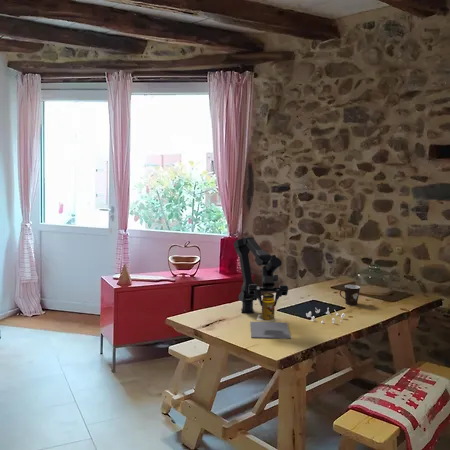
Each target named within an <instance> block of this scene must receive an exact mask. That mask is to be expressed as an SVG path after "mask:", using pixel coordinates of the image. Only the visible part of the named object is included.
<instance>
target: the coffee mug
mask: <svg viewBox="0 0 450 450" xmlns="http://www.w3.org/2000/svg"><path fill="white" fill-rule="evenodd" d="M360 290H361V287H360V286H359V285H356V284H346V285H344V289H340V291H339V295H340V297H341V298H343V299H344V301H345V305H347V306H357V305H358V301H359V296H360ZM342 292H344V296H343V295H342Z"/></svg>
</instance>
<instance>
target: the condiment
mask: <svg viewBox="0 0 450 450" xmlns="http://www.w3.org/2000/svg"><path fill="white" fill-rule="evenodd" d="M275 308H276V306H275V295H274V293H272V292H266V293H263V294H262V306H261V314H257V318H256V321H262V322H276V321H275V320H276V315H275Z"/></svg>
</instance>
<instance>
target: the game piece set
mask: <svg viewBox="0 0 450 450" xmlns="http://www.w3.org/2000/svg"><path fill="white" fill-rule="evenodd" d="M314 308H315V313H316V314H319V313H320V312H321V309H318V308H317V307H314ZM326 309H327V311H326V314H327V315H329V314H331V313H330V312H331V311H329V309H330V308H329V307H327V308H326ZM334 312H335V313H336V314H335V316H339V315H340V314H339V313H338V312H337V311H336V310H334ZM305 315H306V317H307V318H311V322H315V316H314V315H313V316H312V311H309V312H308V313H307V312H306V313H305ZM344 317H346V314H345V312H344V313H342V314H341V315H340V318H341V319H342V320H341V319H339V321H340V323H343V319H344ZM335 320H336V319H335V317H332V319H331V321H332V324H335ZM320 322H321V324H324V323H325V321H324V320H323V319H322V320H321V321H320Z"/></svg>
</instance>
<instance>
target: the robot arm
mask: <svg viewBox="0 0 450 450" xmlns="http://www.w3.org/2000/svg"><path fill="white" fill-rule="evenodd" d="M233 247H234V250H235V253H236V254H237V255H238V257H239V262H240V263H239V264H240V269H241V275H242V281H243V283H242V285H241V288H240V289H241V291H240V293H239V294H238V300H239V301H241V305H242V307H241V309H240V310H241V314H242V313H243V314H244V313H247V314H254V313H255V311H254V301H257V300H258V302H259V305H260V306H261V307H262V299H263V297H262V292H266V293H272V292H274V293H275V295H274V300H275V307H276V305H277V302H278V300H279V298H281V297H283V296H287V295H288V293H289V287H288V285H287V284H286V285H285V284H279V287H275V283H278V282H279V275H278V274H275V273H276V272H277V270H278V269H279V268H280V267H281V266H282V260H281V259H280V258H279V257H277V256H276V254H271V253H269V251H266V250H263V249H262V248H261V246H260V245H259V244H258V243H257V241H256V240H255V238H254V237H253V236H245V237H243V238H239V239H236V240H235V241H234V242H233ZM250 252H251V253H252V255H253V256H254V261H255V263H256V265H257V266H258V267H262V268H261V271H260V273H261V274H262V275H261V286H258V284H257V283H255V282H254V281H253V277H252V270H251V269H252V268H251V263H250V257H249V254H250Z"/></svg>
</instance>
